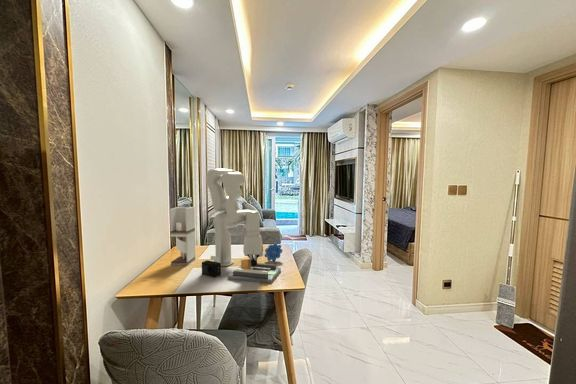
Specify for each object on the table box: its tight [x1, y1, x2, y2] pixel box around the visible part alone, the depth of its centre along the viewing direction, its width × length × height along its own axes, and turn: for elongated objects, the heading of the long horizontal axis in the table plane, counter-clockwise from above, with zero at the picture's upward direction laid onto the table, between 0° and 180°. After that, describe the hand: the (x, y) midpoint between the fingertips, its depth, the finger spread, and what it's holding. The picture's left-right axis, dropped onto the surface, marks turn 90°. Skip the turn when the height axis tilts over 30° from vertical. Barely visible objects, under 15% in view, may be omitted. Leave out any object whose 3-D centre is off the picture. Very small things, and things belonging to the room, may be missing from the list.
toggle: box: [240, 256, 253, 270], centre depth 142 cm, size 6×5×7 cm
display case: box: [169, 206, 196, 266], centre depth 163 cm, size 11×11×35 cm
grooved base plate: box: [232, 262, 277, 278], centre depth 141 cm, size 19×16×3 cm
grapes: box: [264, 242, 283, 262], centre depth 167 cm, size 12×7×12 cm, turn 94°
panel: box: [227, 265, 282, 284], centre depth 141 cm, size 24×18×3 cm
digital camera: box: [201, 260, 222, 278], centre depth 141 cm, size 10×5×7 cm, turn 61°
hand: (254, 266), depth 141 cm, fingers closed
